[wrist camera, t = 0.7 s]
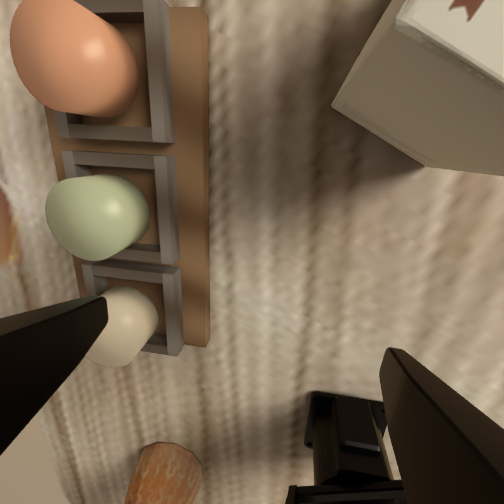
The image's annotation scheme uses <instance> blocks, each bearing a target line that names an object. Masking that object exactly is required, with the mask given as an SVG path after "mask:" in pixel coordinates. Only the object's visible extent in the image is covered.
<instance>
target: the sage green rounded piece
mask: <svg viewBox="0 0 504 504" xmlns="http://www.w3.org/2000/svg"><path fill="white" fill-rule="evenodd" d="M45 210H46V218H47V222H48V225H49V228H50V230H51V232H52V234H53V235H54V237H55V238H56V240H57V241H58V242H59V243H60V244H61V246H62V247H63V248H65V249H66V250H67V251H68V252H70V253H71V254H73V255H75V256H76V257H79V258H81V259H84V260H89V261H100V260H104V259H107V258H109V257H111V256H112V255H114V254H116V253H118V252H119V251H121V250H123V249H125V248H126V247H128V246H130V245H132V244H134V243H135V242H137V241H139V240H140V239H141V238H142V237H143V236H144V235H145V233H146V232H147V229H148V227H149V223H150V211H149V206H148V203H147V200H146V198H145V196H144V195H143V193H142V192H141V190H140V189H139V188H138V187H137V186H136V185H135V184H134V183H133V182H132V181H130V180H129V179H127V178H125V177H123V176H121V175H117V174H100V175H92V176H84V177H77V178H69V179H65V180H62V181H60V182H58V183H57V184H56V185H55V186H54V187H53V188H52V189H51V190H50V192H49V194H48V197H47V200H46V207H45Z"/></svg>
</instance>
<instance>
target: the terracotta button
mask: <svg viewBox="0 0 504 504" xmlns="http://www.w3.org/2000/svg"><path fill="white" fill-rule="evenodd" d="M10 48H11V54H12V58H13V62H14V65H15V68H16V70H17V72H18V75H19V77H20V78H21V80H22V82H23V84H24V85H25V86H26V88H27V89H28V91H29V92H30V93H31V94H32V95H33V96H34V97H35V98H36V99H37V100H38V101H40V102H41V103H42V104H44V105H45V106H47V107H49V108H51V109H54V110H57V111H61V112H67V113H74V114H81V115H87V116H94V117H100V118H111V117H115V116H118V115H120V114H121V113H123V112H124V111H125V110H127V108H128V107H129V106H130V105H131V103H132V102H133V100H134V98H135V95H136V92H137V88H138V80H139V74H138V65H137V61H136V57H135V54H134V52H133V50H132V48H131V46H130V44H129V42H128V41H127V39H126V38H125V37H124V35H123V34H122V33H121V32H120V31H119V30H118V29H116V28H115V27H114V26H112V25H111V24H109V23H108V22H106V21H105V20H103V19H102V18H100V17H99V16H97V15H95V14H94V13H92V12H91V11H89V10H88V9H86V8H85V7H83V6H82V5H80V4H78V3H77V2H75V1H74V0H23V1H22V2H21V4H20V5H19V6H18V8H17V10H16V11H15V14H14V16H13V19H12V23H11V29H10Z"/></svg>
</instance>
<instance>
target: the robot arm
mask: <svg viewBox="0 0 504 504" xmlns="http://www.w3.org/2000/svg"><path fill="white" fill-rule="evenodd" d="M107 323H108V307H107V300H106V298H105V297H103V296H97V295H90V296H86V297H82V298H79V299H75V300H71V301H67V302H63V303H59V304H55V305H51V306H47V307H43V308H39V309H35V310H31V311H28V312H24V313H20V314H16V315H12V316H8V317H4V318H0V455H1V454H2V453H3V452H4V451H5V450H6V449H7V447H8V446H9V445H10V444H11V443H12V441H13V440H14V439H15V438H16V437H17V436H18V434H19V433H20V432H21V431H22V430H23V429H24V428H25V426H26V425H27V424H28V423H29V422H30V420H31V419H32V418H33V417H34V416H35V415H36V414H37V412H38V411H39V410H40V409H41V408H42V407H43V405H44V404H45V403H46V402H47V401H48V400H49V398H50V397H51V396H52V395H53V394H54V393H55V391H56V390H57V389H58V388H59V387H60V386H61V384H62V383H63V382H64V381H65V380H66V379H67V377H68V376H69V375H70V374H71V373H72V372H73V371H74V369H75V368H76V367H77V366H78V364H79V363H80V362H81V360H82V359H83V358H84V356H85V355H86V354H87V352H88V351H89V349H90V348H91V347H92V345H93V344H94V342H95V341H96V340H97V338H98V337H99V335H100V334H101V332H102V331H103V330H104V328H105V327H106V325H107ZM379 377H380V384H381V390H382V396H383V402H377V401H371V400H365V399H359V398H353V397H347V396H341V395H335V394H329V393H323V392H313V393H312V395H311V400H310V407H309V413H308V419H307V426H306V432H305V438H304V444H305V446H306V447H308V448H312V449H313V463H314V486H299V487H297V485H291V486H289V490H288V496H287V498H286V503H285V504H504V429H503V428H501V427H500V426H499V425H498V424H496V423H495V422H494V421H493V420H491V419H490V418H489V417H488V416H486V415H485V414H484V413H482V412H481V411H480V410H479V409H477V408H476V407H475V406H474V405H472V404H471V403H470V402H469V401H467V400H466V399H465V398H464V397H462V396H461V395H460V394H458V393H457V392H456V391H455V390H453V389H452V388H451V387H450V386H448V385H447V384H446V383H445V382H443V381H442V380H441V379H440V378H438V377H437V376H436V375H434V374H433V373H432V372H431V371H429V370H428V369H427V368H426V367H424V366H423V365H422V364H421V363H419V362H418V361H417V360H416V359H414V358H413V357H412V356H410V355H409V354H408V353H407V352H405V351H404V350H402V349H398V348H392V347H389V348H387V349H386V351H385V354H384V358H383V361H382V364H381V367H380V372H379ZM386 426H387V427H388V431H389V435H390V439H391V443H392V447H393V450H394V454H395V458H396V461H397V465H398V469H399V472H400V476H401V479H402V480H394V478H393V474H392V471H391V467H390V464H389V460H388V456H387V453H386V449H385V446H384V442H383V436H384V433H385V429H386Z"/></svg>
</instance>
